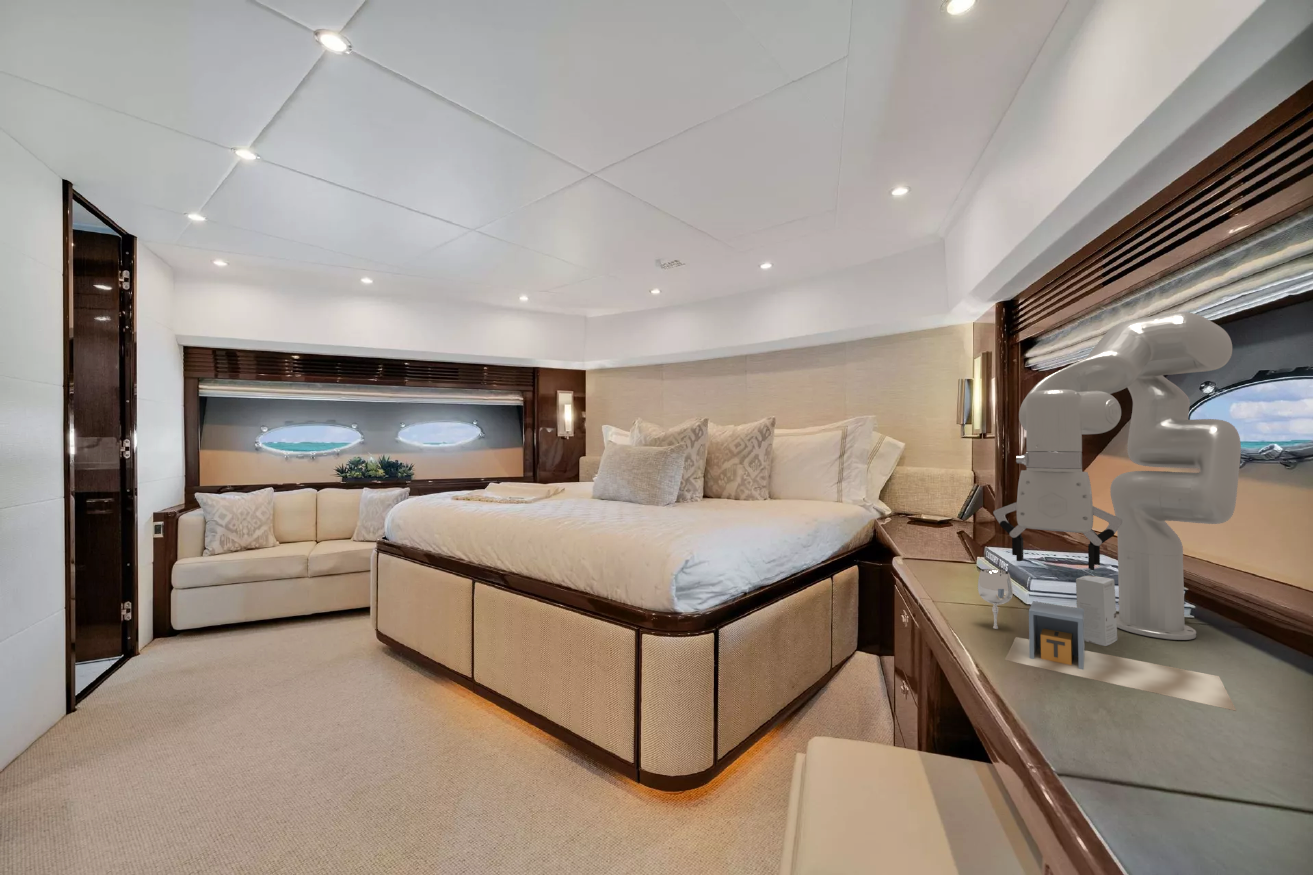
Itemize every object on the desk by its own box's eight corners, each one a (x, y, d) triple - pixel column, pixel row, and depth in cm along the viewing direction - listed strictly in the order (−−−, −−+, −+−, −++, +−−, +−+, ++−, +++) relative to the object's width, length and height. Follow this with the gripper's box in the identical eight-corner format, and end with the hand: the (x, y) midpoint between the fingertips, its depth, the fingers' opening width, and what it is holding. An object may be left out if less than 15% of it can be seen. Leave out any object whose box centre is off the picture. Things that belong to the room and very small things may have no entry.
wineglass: (971, 630, 104) (970, 569, 104) (990, 626, 106) (990, 567, 107) (1000, 639, 99) (999, 576, 99) (1020, 635, 101) (1019, 573, 101)
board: (1005, 666, 87) (1005, 659, 87) (1015, 642, 97) (1015, 637, 98) (1236, 718, 70) (1236, 710, 70) (1219, 682, 81) (1218, 676, 81)
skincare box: (1106, 652, 93) (1105, 583, 93) (1076, 644, 97) (1074, 578, 97) (1118, 644, 96) (1117, 578, 97) (1088, 637, 100) (1087, 574, 100)
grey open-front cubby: (1033, 646, 93) (1033, 601, 93) (1084, 656, 88) (1083, 608, 88) (1029, 658, 88) (1028, 610, 88) (1083, 669, 83) (1082, 619, 83)
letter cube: (1043, 651, 90) (1042, 628, 91) (1072, 657, 88) (1072, 633, 88) (1040, 658, 87) (1040, 634, 87) (1071, 665, 85) (1071, 640, 85)
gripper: (990, 461, 91) (990, 560, 91) (1122, 464, 80) (1123, 576, 80) (996, 461, 97) (997, 554, 97) (1121, 463, 86) (1122, 568, 85)
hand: (1054, 564), depth 88 cm, fingers open, 9 cm apart
